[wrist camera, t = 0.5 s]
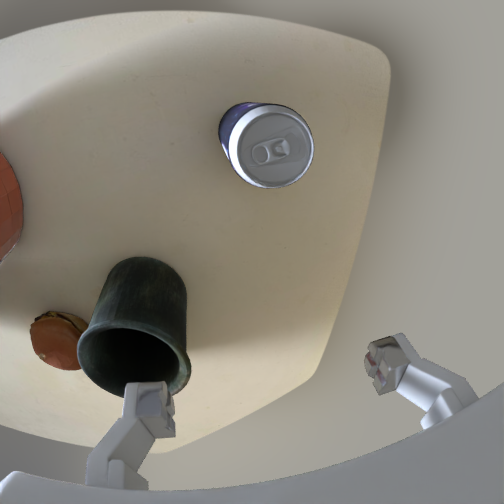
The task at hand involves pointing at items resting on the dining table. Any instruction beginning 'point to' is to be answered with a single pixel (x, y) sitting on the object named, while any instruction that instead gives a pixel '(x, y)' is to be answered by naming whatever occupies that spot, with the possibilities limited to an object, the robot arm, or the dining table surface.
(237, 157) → the beverage can
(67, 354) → the burger
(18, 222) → the terracotta bowl
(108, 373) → the mug
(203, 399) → the dining table surface
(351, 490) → the robot arm
